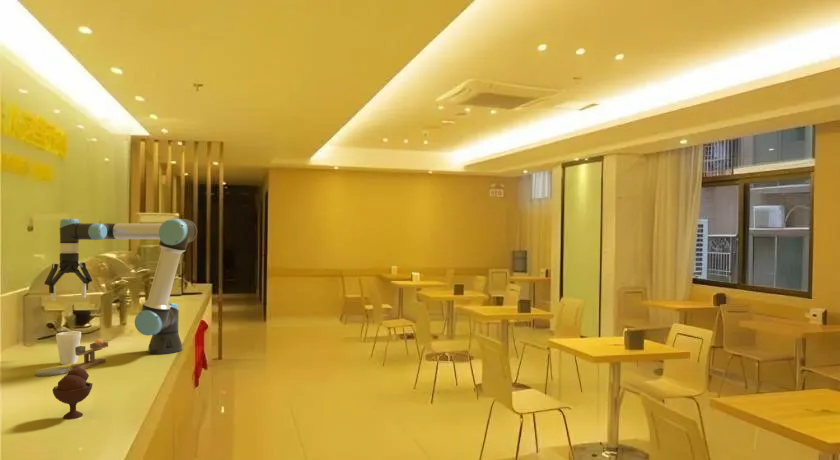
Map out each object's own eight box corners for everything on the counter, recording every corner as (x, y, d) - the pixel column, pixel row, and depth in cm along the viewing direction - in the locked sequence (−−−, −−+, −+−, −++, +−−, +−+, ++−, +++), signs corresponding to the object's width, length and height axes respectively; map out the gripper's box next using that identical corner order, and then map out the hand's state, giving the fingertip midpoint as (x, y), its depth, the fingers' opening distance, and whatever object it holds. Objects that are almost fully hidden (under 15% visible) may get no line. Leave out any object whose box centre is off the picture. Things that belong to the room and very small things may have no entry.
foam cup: (69, 365, 256) (69, 335, 256) (51, 364, 258) (50, 334, 258) (86, 360, 265) (85, 331, 265) (68, 359, 267) (68, 330, 267)
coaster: (76, 369, 248) (76, 367, 248) (54, 377, 237) (54, 374, 237) (51, 368, 250) (51, 366, 250) (27, 375, 239) (27, 373, 239)
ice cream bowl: (63, 411, 192) (62, 365, 192) (99, 410, 193) (99, 364, 193) (45, 422, 182) (45, 373, 182) (83, 421, 183) (83, 372, 183)
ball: (104, 345, 263) (104, 338, 263) (99, 347, 260) (99, 339, 260) (98, 345, 264) (98, 338, 264) (93, 346, 260) (93, 339, 260)
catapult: (108, 361, 264) (108, 340, 264) (81, 370, 248) (81, 348, 248) (98, 361, 265) (98, 340, 265) (71, 369, 249) (71, 347, 249)
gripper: (91, 251, 285) (91, 295, 285) (35, 253, 264) (35, 301, 264) (100, 251, 281) (100, 296, 282) (44, 253, 260) (44, 302, 260)
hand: (68, 299), depth 273 cm, fingers open, 13 cm apart
